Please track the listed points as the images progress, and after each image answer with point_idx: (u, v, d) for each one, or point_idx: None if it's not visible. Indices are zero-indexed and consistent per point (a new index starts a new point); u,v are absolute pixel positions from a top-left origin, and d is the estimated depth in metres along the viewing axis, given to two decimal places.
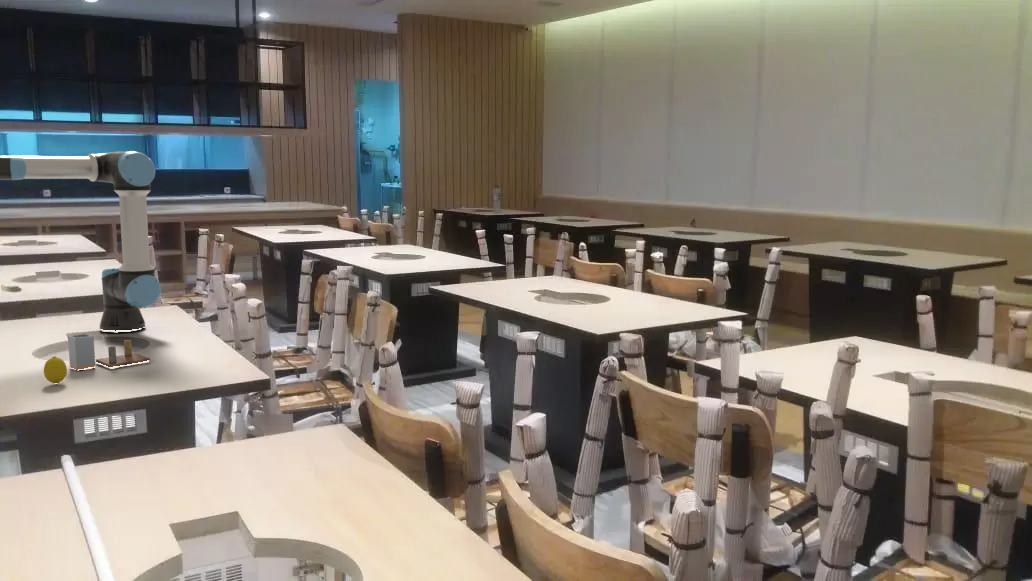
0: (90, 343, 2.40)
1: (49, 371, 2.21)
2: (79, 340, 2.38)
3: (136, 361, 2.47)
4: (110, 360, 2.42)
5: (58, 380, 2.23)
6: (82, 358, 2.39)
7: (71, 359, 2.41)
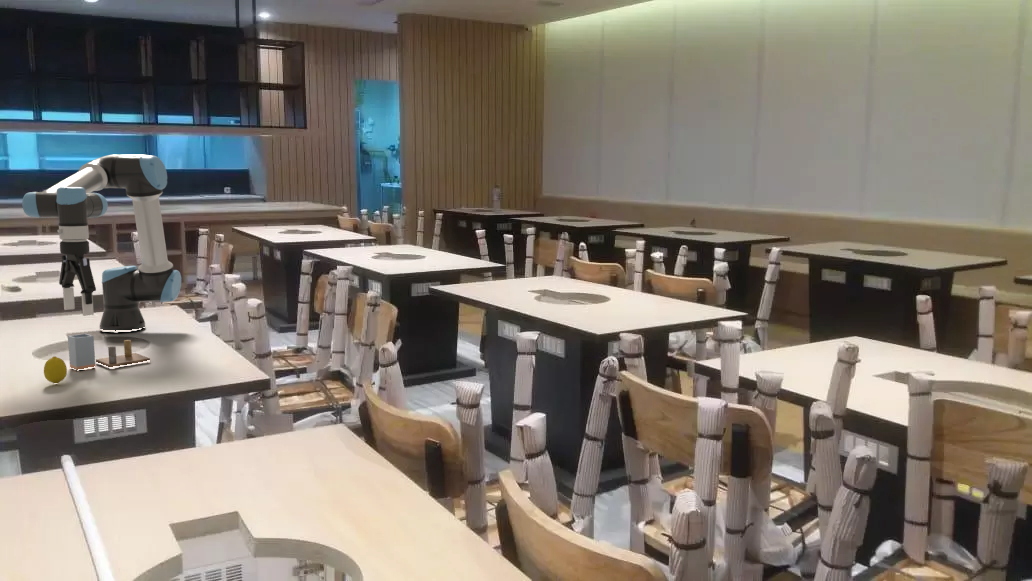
0: (90, 343, 2.40)
1: (49, 371, 2.21)
2: (79, 340, 2.38)
3: (136, 361, 2.47)
4: (110, 360, 2.42)
5: (58, 380, 2.23)
6: (82, 358, 2.39)
7: (71, 359, 2.41)
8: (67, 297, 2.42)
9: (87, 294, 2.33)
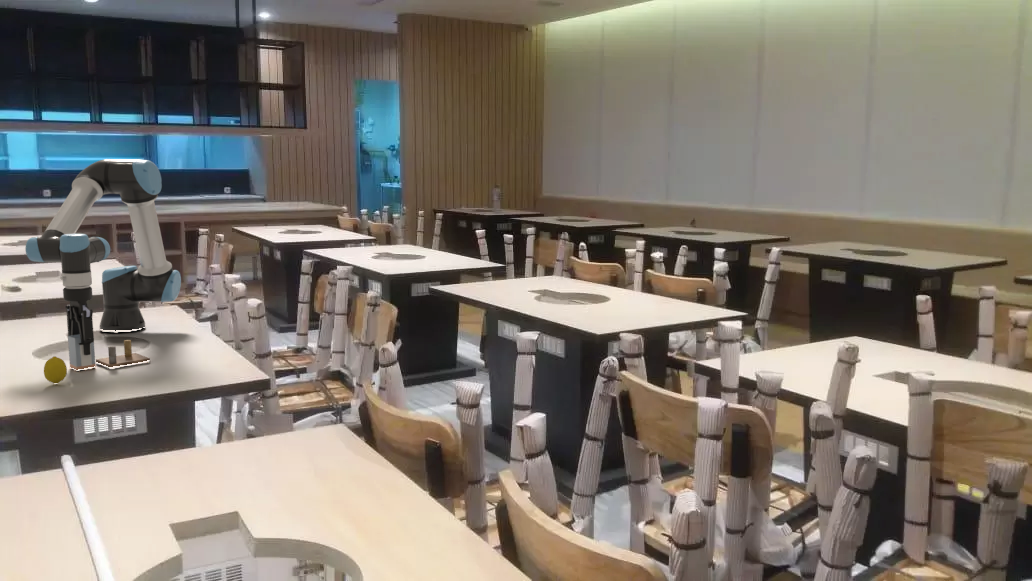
0: None
1: (49, 371, 2.21)
2: (79, 340, 2.38)
3: (136, 361, 2.47)
4: (110, 360, 2.42)
5: (58, 380, 2.23)
6: None
7: (71, 359, 2.41)
8: None
9: (85, 345, 2.38)
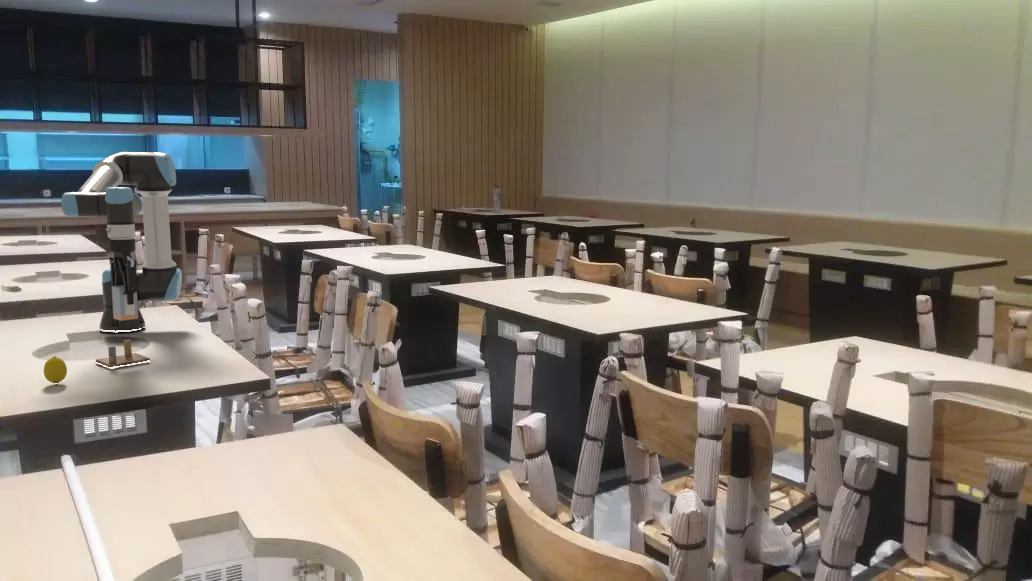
0: None
1: (49, 371, 2.21)
2: (123, 290, 2.46)
3: (136, 361, 2.47)
4: (110, 360, 2.42)
5: (58, 380, 2.23)
6: None
7: (114, 309, 2.48)
8: None
9: (129, 295, 2.46)
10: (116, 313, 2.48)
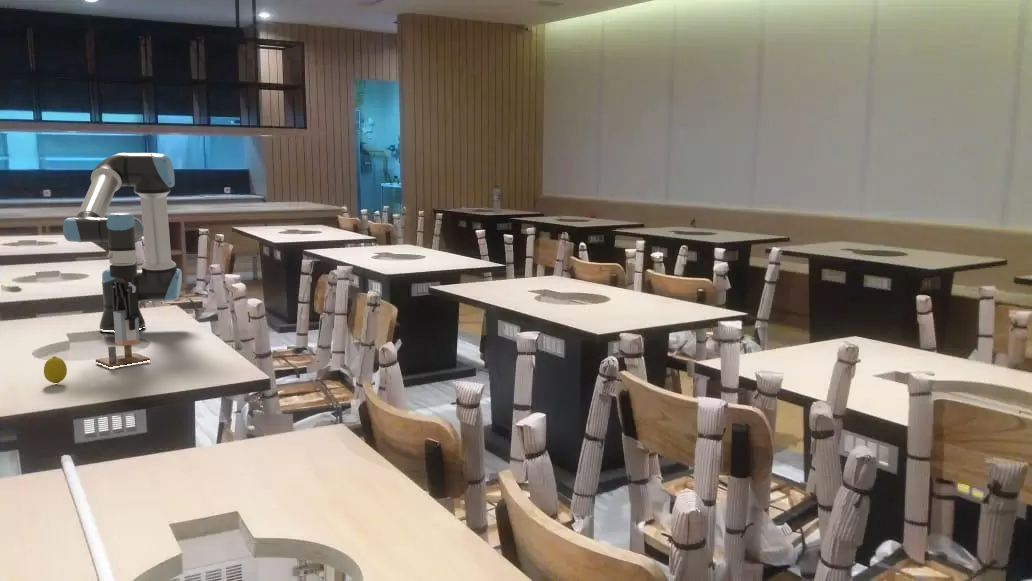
0: None
1: (49, 371, 2.21)
2: (125, 315, 2.47)
3: (136, 361, 2.47)
4: (110, 360, 2.42)
5: (58, 380, 2.23)
6: None
7: (116, 334, 2.50)
8: None
9: (131, 320, 2.47)
10: (118, 338, 2.49)
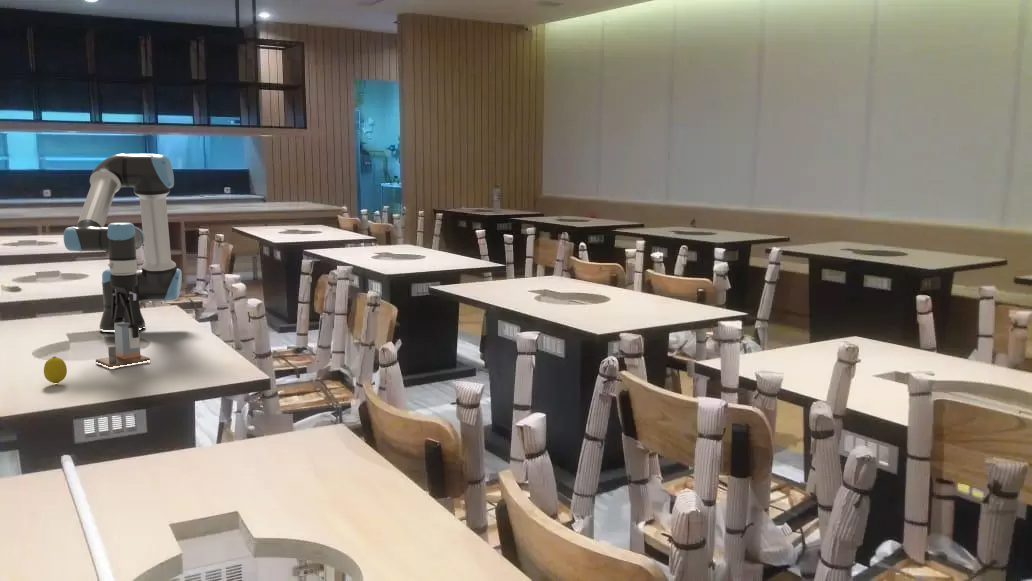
0: None
1: (49, 371, 2.21)
2: (126, 328, 2.48)
3: (136, 361, 2.47)
4: (110, 360, 2.42)
5: (58, 380, 2.23)
6: (128, 345, 2.49)
7: (117, 347, 2.50)
8: None
9: (134, 328, 2.46)
10: (118, 351, 2.50)
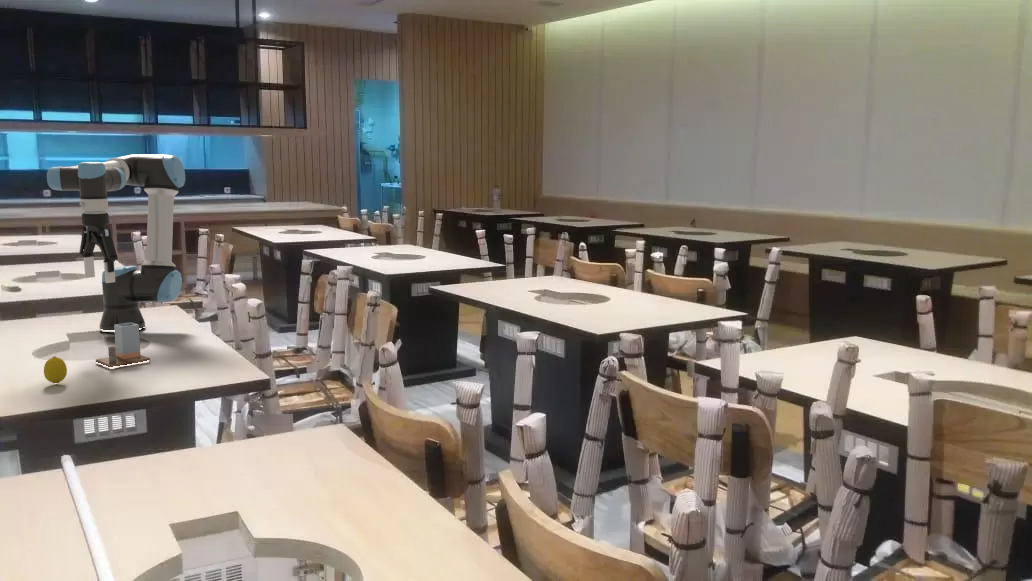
0: (135, 331, 2.50)
1: (49, 371, 2.21)
2: (126, 328, 2.48)
3: (136, 361, 2.47)
4: (110, 360, 2.42)
5: (58, 380, 2.23)
6: (128, 345, 2.49)
7: (117, 347, 2.50)
8: (87, 265, 2.58)
9: (109, 263, 2.49)
10: (118, 351, 2.50)
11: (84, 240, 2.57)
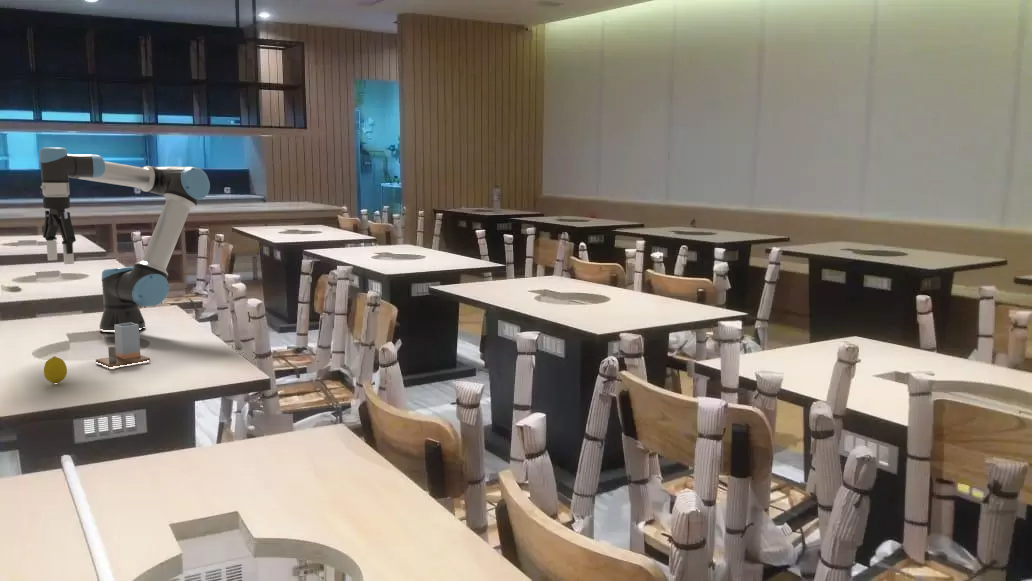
0: (135, 331, 2.50)
1: (49, 371, 2.21)
2: (126, 328, 2.48)
3: (136, 361, 2.47)
4: (110, 360, 2.42)
5: (58, 380, 2.23)
6: (128, 345, 2.49)
7: (117, 347, 2.50)
8: (50, 248, 2.66)
9: (68, 244, 2.56)
10: (118, 351, 2.50)
11: (47, 224, 2.65)
